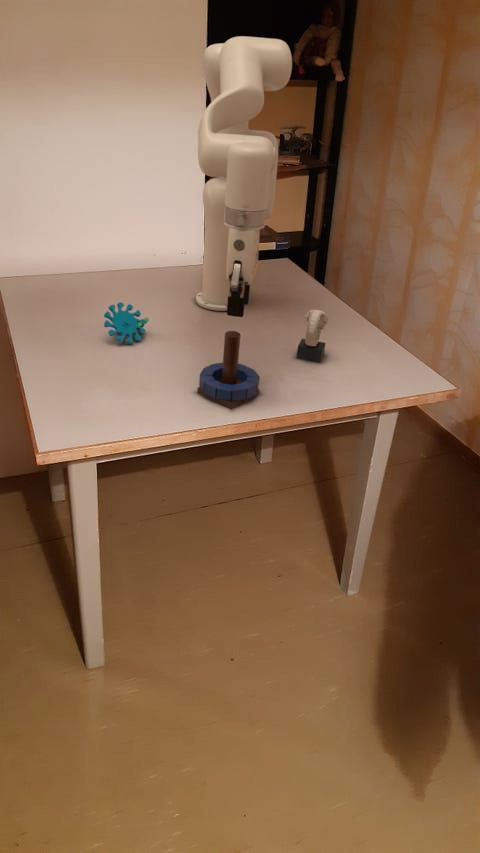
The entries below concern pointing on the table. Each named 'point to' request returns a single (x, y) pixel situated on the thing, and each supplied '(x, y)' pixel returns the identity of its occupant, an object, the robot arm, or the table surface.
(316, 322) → the ram head statue
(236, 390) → the ring
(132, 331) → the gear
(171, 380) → the table surface
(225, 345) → the stand
